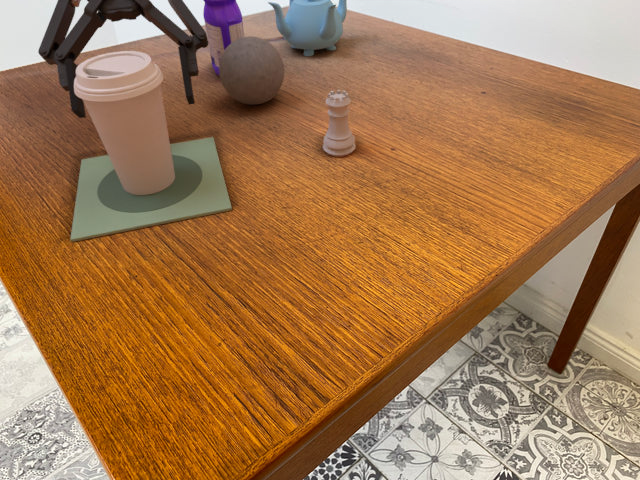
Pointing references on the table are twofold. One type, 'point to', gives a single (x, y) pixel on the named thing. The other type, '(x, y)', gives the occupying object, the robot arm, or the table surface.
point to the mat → (154, 209)
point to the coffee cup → (129, 117)
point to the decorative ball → (251, 70)
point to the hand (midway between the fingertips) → (135, 107)
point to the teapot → (311, 24)
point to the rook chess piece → (338, 126)
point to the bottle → (222, 27)
